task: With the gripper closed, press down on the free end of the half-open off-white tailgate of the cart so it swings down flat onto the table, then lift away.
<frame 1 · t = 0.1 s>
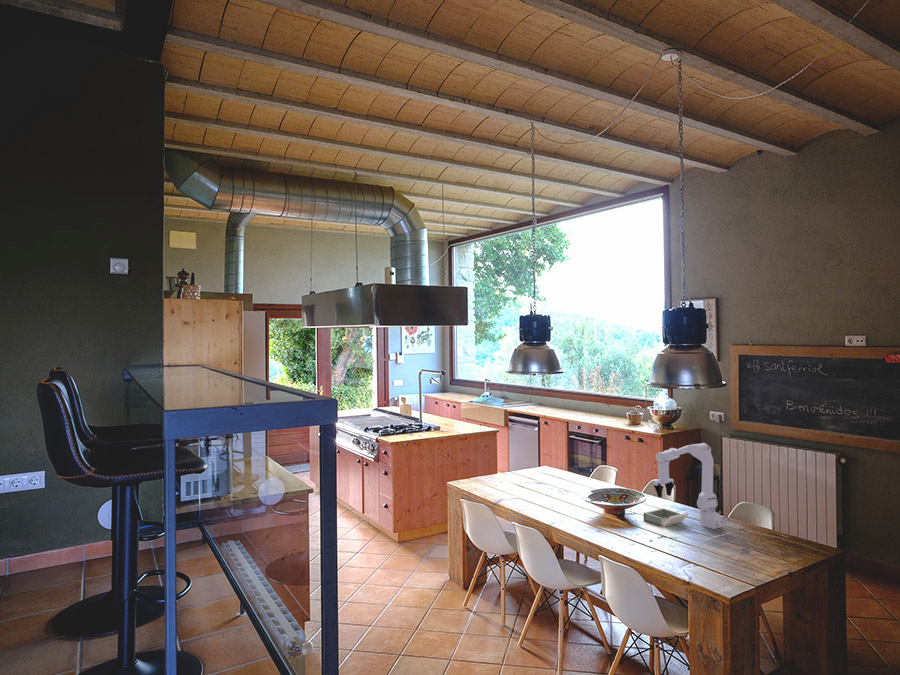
hand: (664, 496, 315), 10 cm above the table, fingers open, 7 cm apart
cart bed: (662, 522, 298), on the table
tailgate: (675, 520, 291), point 3 cm above the table, hinge at 50.0°
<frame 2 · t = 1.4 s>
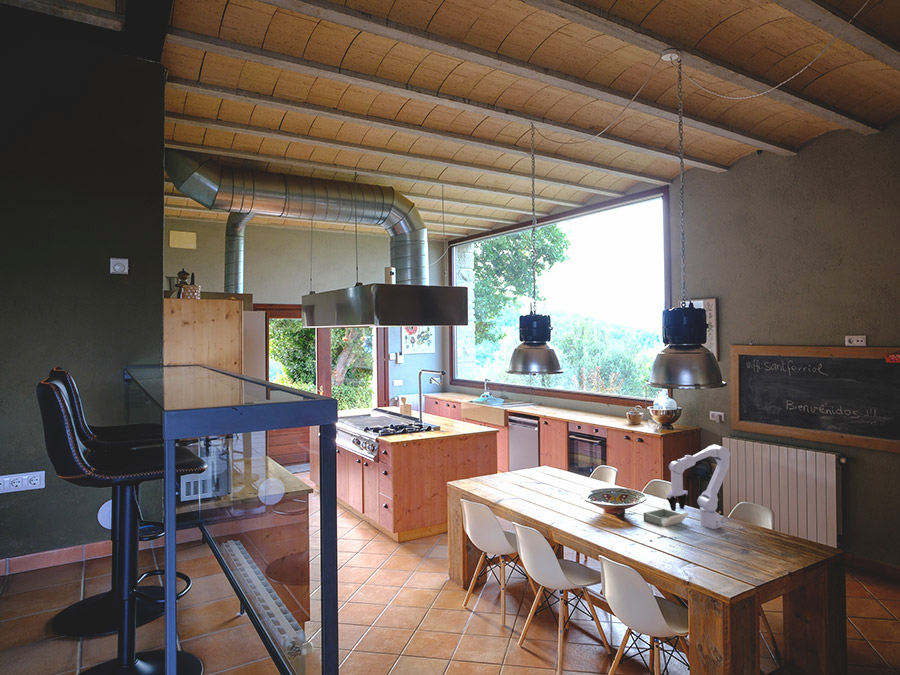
hand: (677, 509, 290), 9 cm above the table, fingers open, 6 cm apart
nothing on the table moved.
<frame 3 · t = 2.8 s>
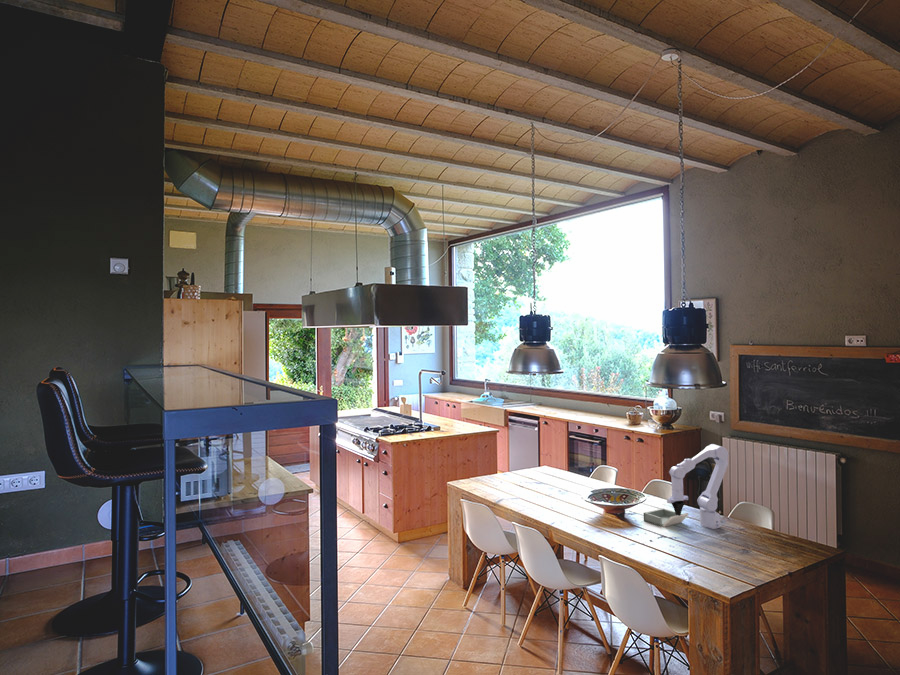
hand: (678, 515, 289), 7 cm above the table, fingers closed, pressing on tailgate
tailgate: (675, 520, 291), point 3 cm above the table, hinge at 48.7°, touching gripper
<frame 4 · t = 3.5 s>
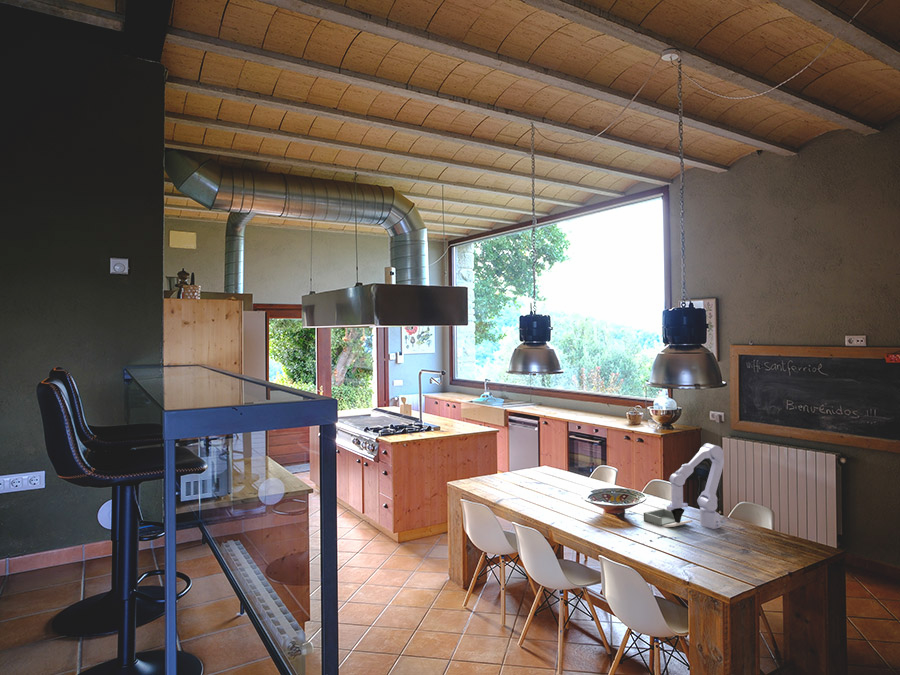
hand: (677, 522, 289), 3 cm above the table, fingers closed, pressing on tailgate
tailgate: (677, 523, 290), point 2 cm above the table, hinge at 19.2°, touching gripper
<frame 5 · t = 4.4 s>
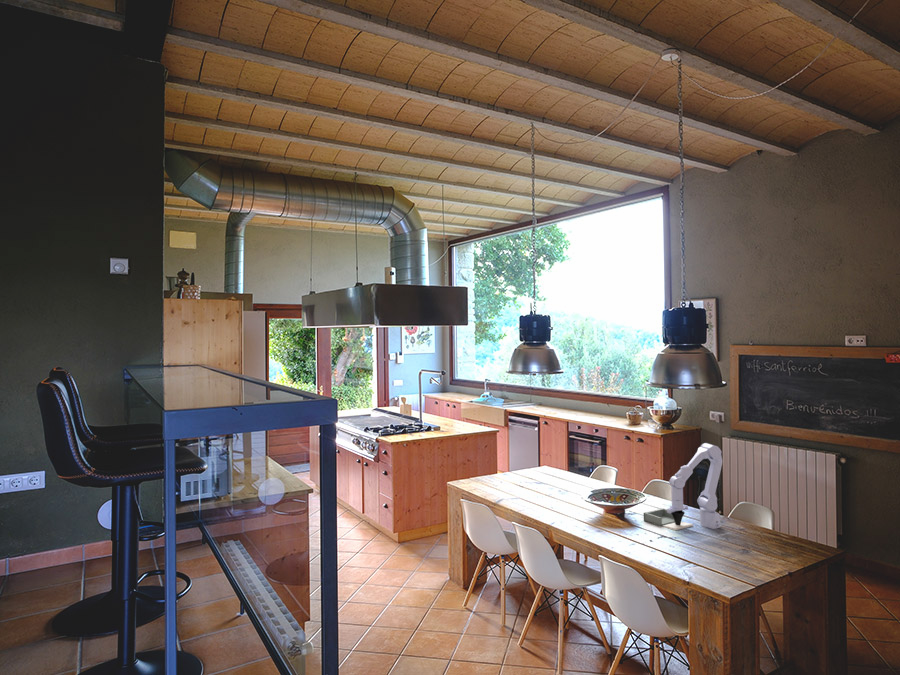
hand: (677, 524, 289), 1 cm above the table, fingers closed, pressing on tailgate
tailgate: (677, 525, 290), point 1 cm above the table, hinge at 4.6°, touching gripper
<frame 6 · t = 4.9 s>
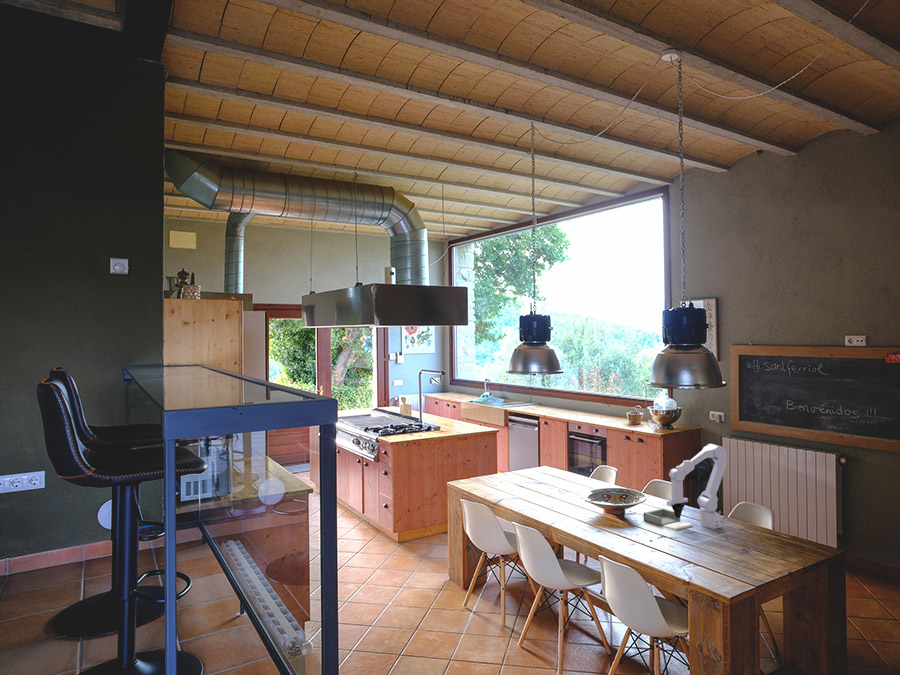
hand: (677, 517, 289), 5 cm above the table, fingers closed
tailgate: (677, 525, 290), point 1 cm above the table, hinge at 4.6°
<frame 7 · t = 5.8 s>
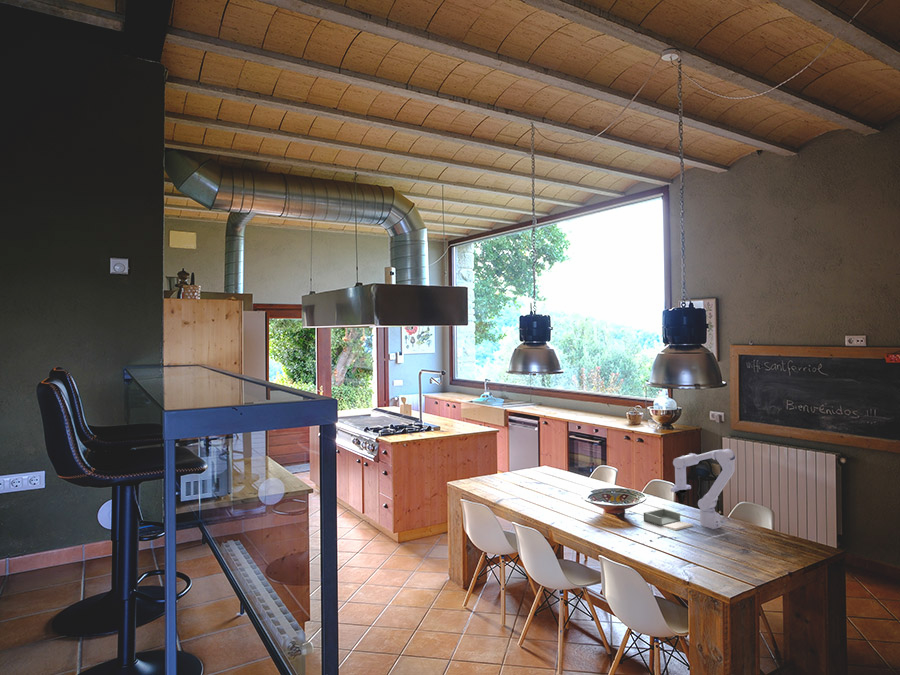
hand: (681, 503, 302), 9 cm above the table, fingers closed
nothing on the table moved.
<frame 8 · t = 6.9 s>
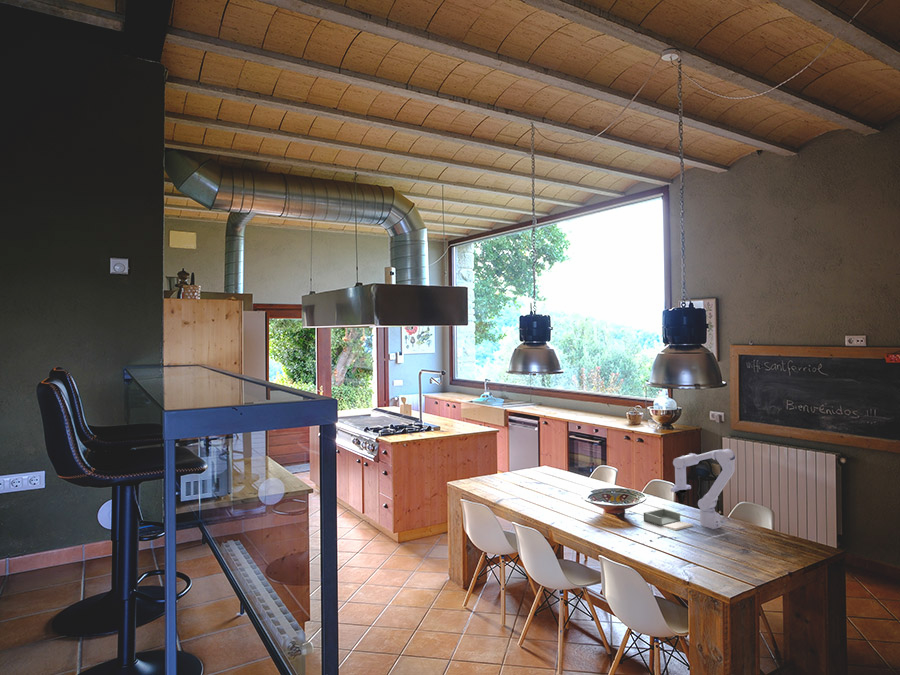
hand: (681, 503, 302), 9 cm above the table, fingers closed
nothing on the table moved.
at the end: tailgate at +5° (first picture: +50°) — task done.
